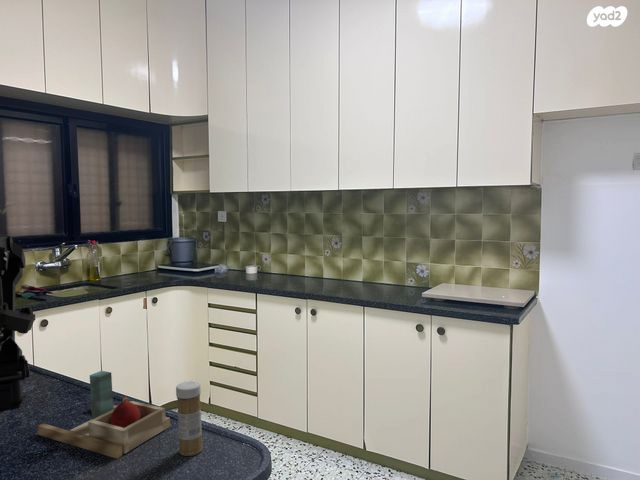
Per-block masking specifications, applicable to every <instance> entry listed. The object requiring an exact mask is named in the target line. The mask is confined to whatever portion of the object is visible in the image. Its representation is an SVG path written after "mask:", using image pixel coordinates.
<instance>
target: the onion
mask: <svg viewBox="0 0 640 480" xmlns="http://www.w3.org/2000/svg"><path fill="white" fill-rule="evenodd" d="M117 405H118V406H117V407H116V408H115V409H114V411H113V413H112V416H111V421H110V422H111V425H115V426H118V427H122V428H125V427H127V426H129V425H131V424H133V423H134V422H136V421H138V420H140V416H141V414H140V410H139V408H138V407H137V406H136V405H134V404H133V403H131V402H130V399H129V398H128V397H124V398H123V399H122V400H121V402H120V403H119V404H117Z"/></svg>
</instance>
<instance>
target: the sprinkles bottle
mask: <svg viewBox="0 0 640 480" xmlns="http://www.w3.org/2000/svg"><path fill="white" fill-rule="evenodd" d="M175 394H176V395H175V396H176V399H177V425H178V426H177V427H178V437H179V440H178V441H179V448H178V451H179V454H180V455H182V456H184V457H185V456H186V457H192V456H195V455H198V454H200V453H201V452H202V450H203V449H204V448H203V447H204V445H203V436H202V435H203V434H202V432H203V430H202V411H201V409H202V408H201V384H200V382H199V381H197V380H196V381H194V380H189V381H183V382H180V383H179V384H177V385H176V387H175Z"/></svg>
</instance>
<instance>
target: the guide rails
mask: <svg viewBox="0 0 640 480" xmlns="http://www.w3.org/2000/svg"><path fill="white" fill-rule="evenodd" d="M90 404H91V401H90ZM118 405H119V404H117V405H116V404H113V409H115V408H116V407H117V406H118ZM90 411H92V409H91V408H90ZM170 427H171V418H170V417H167V416H166V429H168V428H170ZM166 429H165V430H166ZM37 435H38V436H41V437H44V438H48V439H50V440H54V441H58V442H60V443H65V444H68V445H71V446H73V447H77V448H81V449H84V450H88V451H90V452H94V453H97V454H100V455H104V456H106V457H110V458H114V459H116V460H118V459H120V458H121V457H123V453H122V446H121V445H118V444H114V443H111V442H107V441H104V440H100V439H97V438H93V437H89V436H86V435H82V434H79V433H75V432H72V431H70V430H68V429H65V428H61V427H57V426H54V425H51V424H47V423H43V422H42V423H41V424H39V425H37Z"/></svg>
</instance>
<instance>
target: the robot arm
mask: <svg viewBox="0 0 640 480" xmlns="http://www.w3.org/2000/svg"><path fill="white" fill-rule="evenodd" d="M26 265H27V263H26V256H25V252H24V247H23V246H21V245H20V244H17V242H14V240H13V236H12V235H8V234H0V411H1V410H6V409H9V410H10V409H17V408H20V407H21V406H22V404H23V403H24V402H25V401H26V399H27V398H28V396H27V395H25V394H24V395H22V382H21V381H25V380H26V379H28V378H30V377H31V375H30V374H31V373H30V367H29V362H28V360H27V359H26V357H25V355H24V354H23V350H22V349H21V347H20V346H19V345H18V343H17V342H16V332H18V333H19V334H24V335H25V334H27V333H29V331H31V330H32V329H33V328H32V327H33V325H34V322H35V321H36V319H37V318H36V314H35V313H34V311H33V308H32V307H30V306H24V307H22V308H20V310H17V309H16V286H17V284H19V282H20V281H21V279H22V278H23V276H24V269H26Z"/></svg>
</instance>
